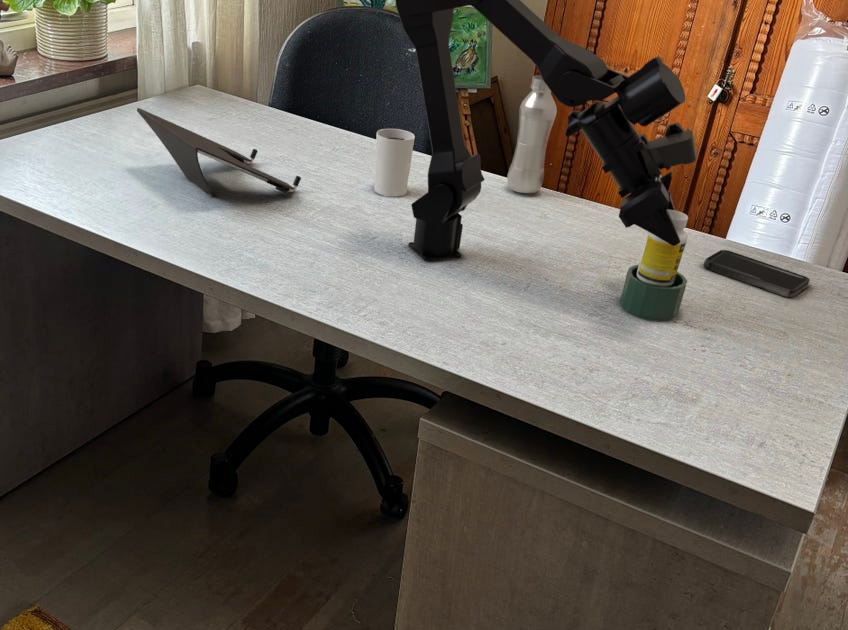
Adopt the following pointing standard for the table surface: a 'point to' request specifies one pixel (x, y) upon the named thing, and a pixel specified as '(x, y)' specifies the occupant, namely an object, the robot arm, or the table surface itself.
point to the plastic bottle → (532, 138)
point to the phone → (757, 273)
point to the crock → (652, 297)
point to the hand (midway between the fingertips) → (677, 237)
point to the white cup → (393, 161)
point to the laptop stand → (205, 153)
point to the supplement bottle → (663, 255)
